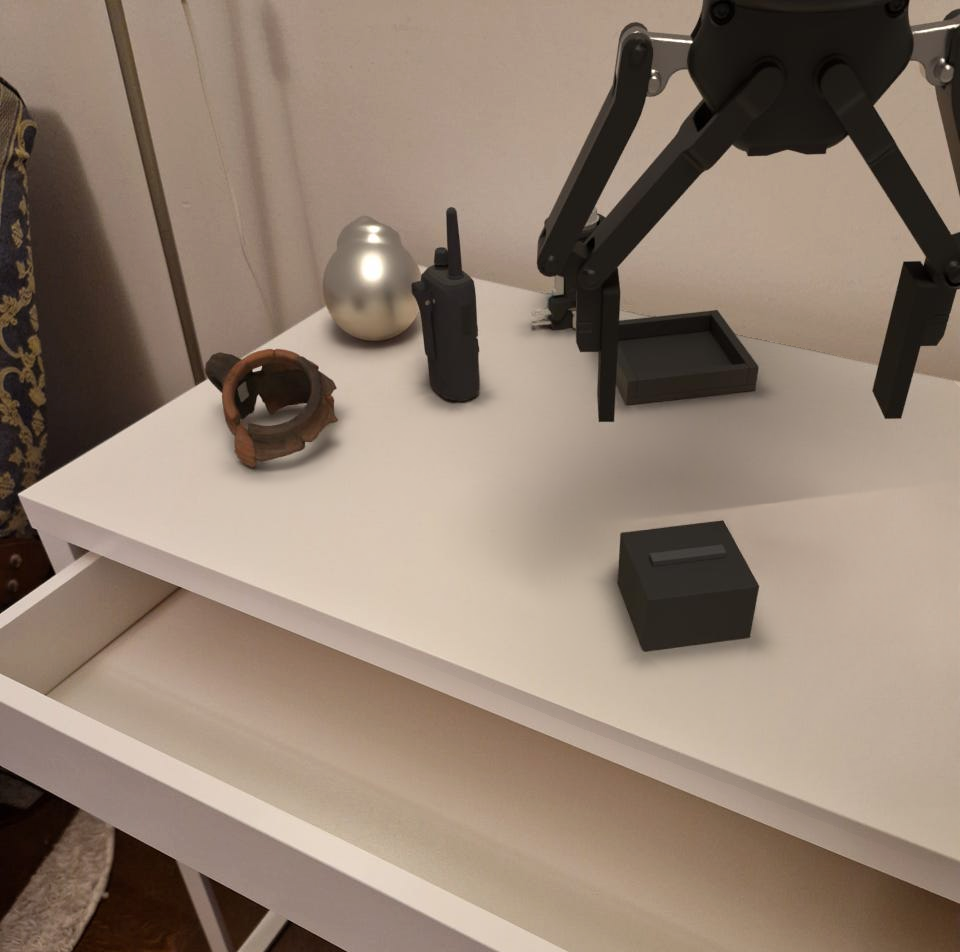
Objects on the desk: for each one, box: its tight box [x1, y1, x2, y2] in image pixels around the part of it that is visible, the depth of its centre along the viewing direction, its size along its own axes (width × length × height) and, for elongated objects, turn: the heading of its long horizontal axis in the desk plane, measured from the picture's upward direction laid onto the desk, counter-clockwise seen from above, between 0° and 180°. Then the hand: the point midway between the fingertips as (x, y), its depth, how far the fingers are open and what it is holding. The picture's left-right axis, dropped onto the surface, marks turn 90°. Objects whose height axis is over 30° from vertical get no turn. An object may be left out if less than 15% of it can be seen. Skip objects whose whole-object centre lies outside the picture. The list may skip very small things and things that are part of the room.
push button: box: [530, 206, 606, 331], centre depth 88 cm, size 7×5×10 cm
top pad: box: [617, 519, 760, 652], centre depth 60 cm, size 6×6×4 cm
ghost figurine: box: [321, 215, 422, 342], centre depth 88 cm, size 9×10×10 cm
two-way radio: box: [411, 206, 481, 402], centre depth 78 cm, size 6×4×15 cm
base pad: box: [616, 309, 760, 406], centre depth 83 cm, size 11×11×2 cm
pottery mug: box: [204, 348, 339, 469], centre depth 77 cm, size 12×10×8 cm
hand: (744, 407), depth 49 cm, fingers open, 13 cm apart
